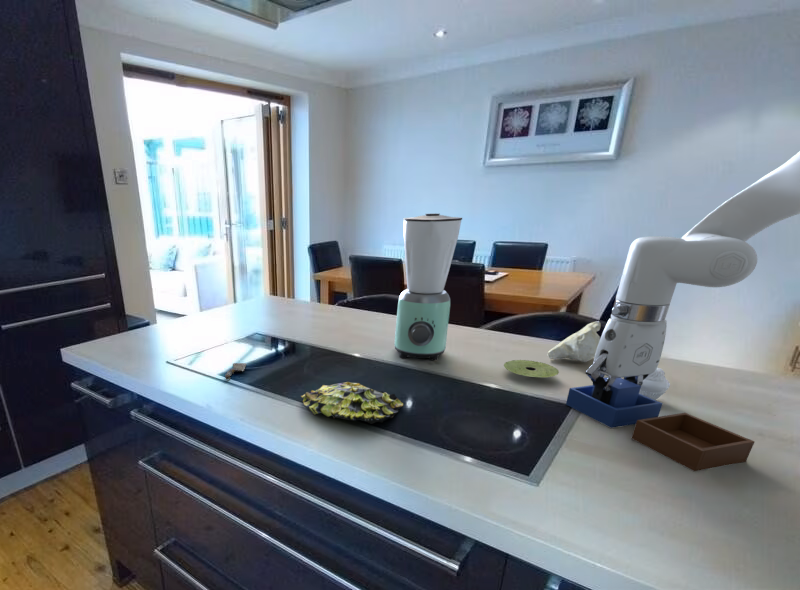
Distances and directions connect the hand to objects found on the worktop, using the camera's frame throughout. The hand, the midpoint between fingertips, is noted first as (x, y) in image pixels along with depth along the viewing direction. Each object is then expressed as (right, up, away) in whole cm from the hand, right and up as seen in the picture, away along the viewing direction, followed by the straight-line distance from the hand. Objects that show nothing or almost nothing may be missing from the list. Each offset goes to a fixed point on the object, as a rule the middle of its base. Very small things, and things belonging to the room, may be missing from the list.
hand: (611, 404), depth 83 cm
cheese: (+12, +11, +30) cm, 34 cm away
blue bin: (0, -2, +1) cm, 2 cm away
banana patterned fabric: (-49, -1, +5) cm, 50 cm away
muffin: (+11, +1, +6) cm, 13 cm away
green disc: (-5, +6, +18) cm, 20 cm away
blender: (-26, +12, +35) cm, 45 cm away
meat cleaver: (-75, +7, +25) cm, 79 cm away
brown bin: (+3, -7, -12) cm, 14 cm away
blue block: (0, 0, 0) cm, 0 cm away
